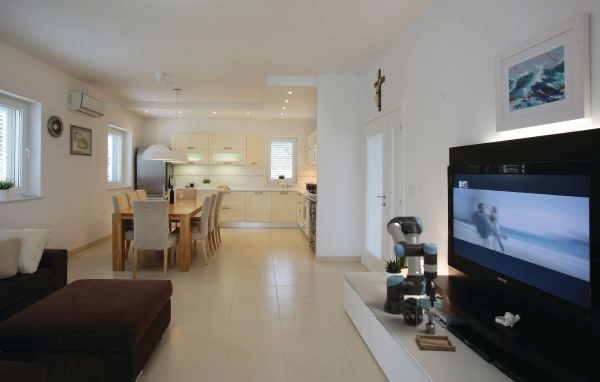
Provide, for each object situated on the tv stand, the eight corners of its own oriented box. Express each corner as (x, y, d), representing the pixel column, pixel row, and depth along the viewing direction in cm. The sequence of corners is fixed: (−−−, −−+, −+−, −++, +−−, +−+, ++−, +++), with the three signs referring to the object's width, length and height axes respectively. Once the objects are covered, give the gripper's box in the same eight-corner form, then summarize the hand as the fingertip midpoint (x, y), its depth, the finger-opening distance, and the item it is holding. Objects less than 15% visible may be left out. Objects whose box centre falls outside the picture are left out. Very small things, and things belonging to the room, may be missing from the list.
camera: (408, 318, 227) (408, 295, 227) (423, 323, 220) (423, 299, 219) (400, 323, 220) (399, 299, 220) (415, 328, 213) (415, 303, 212)
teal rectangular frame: (438, 303, 209) (438, 298, 209) (441, 308, 202) (441, 302, 202) (415, 302, 210) (415, 297, 210) (418, 307, 203) (418, 302, 203)
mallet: (424, 330, 209) (424, 310, 209) (434, 331, 208) (434, 310, 208) (426, 334, 204) (426, 313, 204) (436, 334, 203) (436, 314, 203)
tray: (416, 338, 199) (416, 334, 199) (448, 339, 197) (448, 336, 197) (421, 349, 186) (421, 345, 186) (455, 351, 184) (455, 347, 184)
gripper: (419, 266, 215) (419, 303, 216) (427, 275, 195) (427, 316, 197) (432, 266, 214) (432, 303, 215) (441, 275, 195) (441, 316, 196)
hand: (430, 309), depth 206 cm, fingers closed on teal rectangular frame, 7 cm apart
